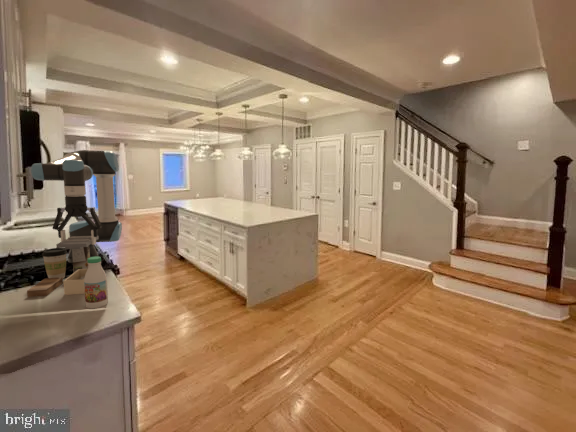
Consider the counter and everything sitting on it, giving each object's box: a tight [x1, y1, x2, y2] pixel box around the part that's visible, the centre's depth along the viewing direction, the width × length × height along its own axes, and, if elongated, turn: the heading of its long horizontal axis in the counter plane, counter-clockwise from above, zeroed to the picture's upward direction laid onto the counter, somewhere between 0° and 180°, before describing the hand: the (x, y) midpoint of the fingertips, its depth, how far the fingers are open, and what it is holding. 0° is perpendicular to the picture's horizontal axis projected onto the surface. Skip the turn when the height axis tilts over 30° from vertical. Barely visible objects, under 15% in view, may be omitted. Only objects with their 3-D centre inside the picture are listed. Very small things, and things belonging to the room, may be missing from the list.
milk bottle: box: [84, 256, 109, 310], centre depth 121 cm, size 8×8×20 cm
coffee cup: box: [41, 247, 68, 279], centre depth 147 cm, size 10×10×15 cm
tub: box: [62, 269, 88, 296], centre depth 138 cm, size 16×8×7 cm, turn 15°
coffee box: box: [72, 246, 90, 273], centre depth 158 cm, size 9×6×16 cm
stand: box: [26, 277, 64, 298], centre depth 134 cm, size 15×7×4 cm, turn 15°
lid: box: [56, 236, 99, 250], centre depth 135 cm, size 16×11×3 cm
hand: (79, 244), depth 135 cm, fingers closed on lid, 11 cm apart
